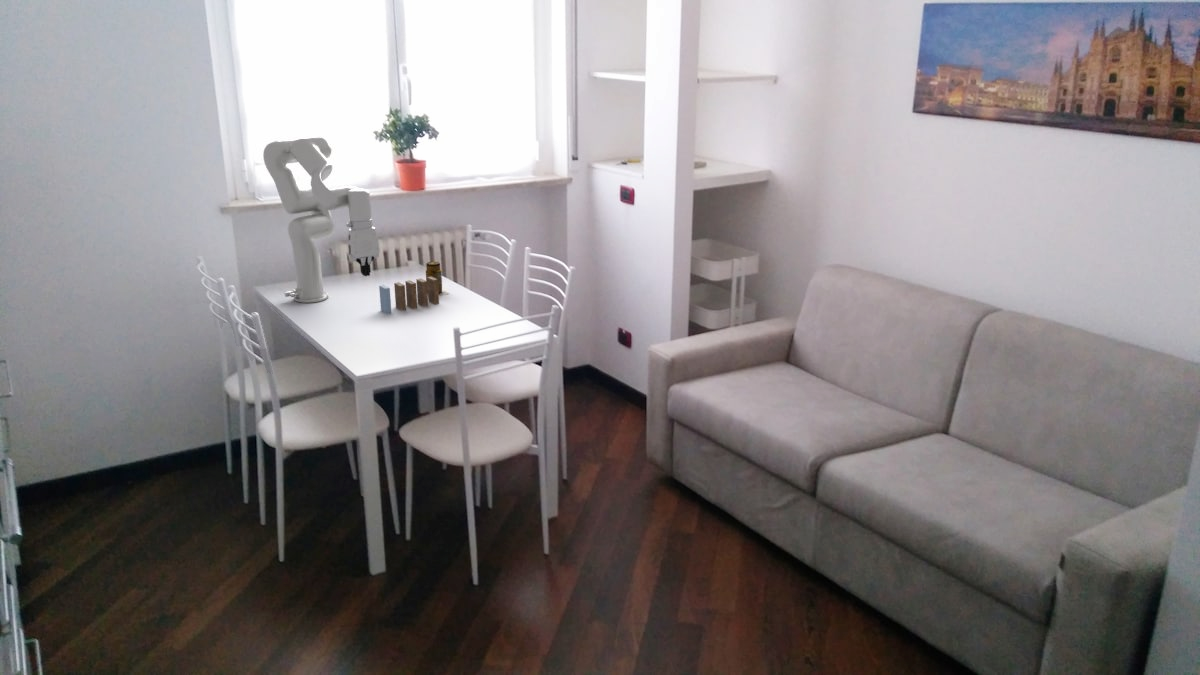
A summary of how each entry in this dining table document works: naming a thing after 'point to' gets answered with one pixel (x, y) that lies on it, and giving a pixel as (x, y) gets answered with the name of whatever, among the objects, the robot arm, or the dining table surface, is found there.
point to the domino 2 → (400, 296)
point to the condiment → (435, 275)
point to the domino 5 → (433, 290)
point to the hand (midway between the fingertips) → (366, 275)
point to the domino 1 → (385, 299)
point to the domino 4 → (422, 292)
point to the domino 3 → (411, 294)
